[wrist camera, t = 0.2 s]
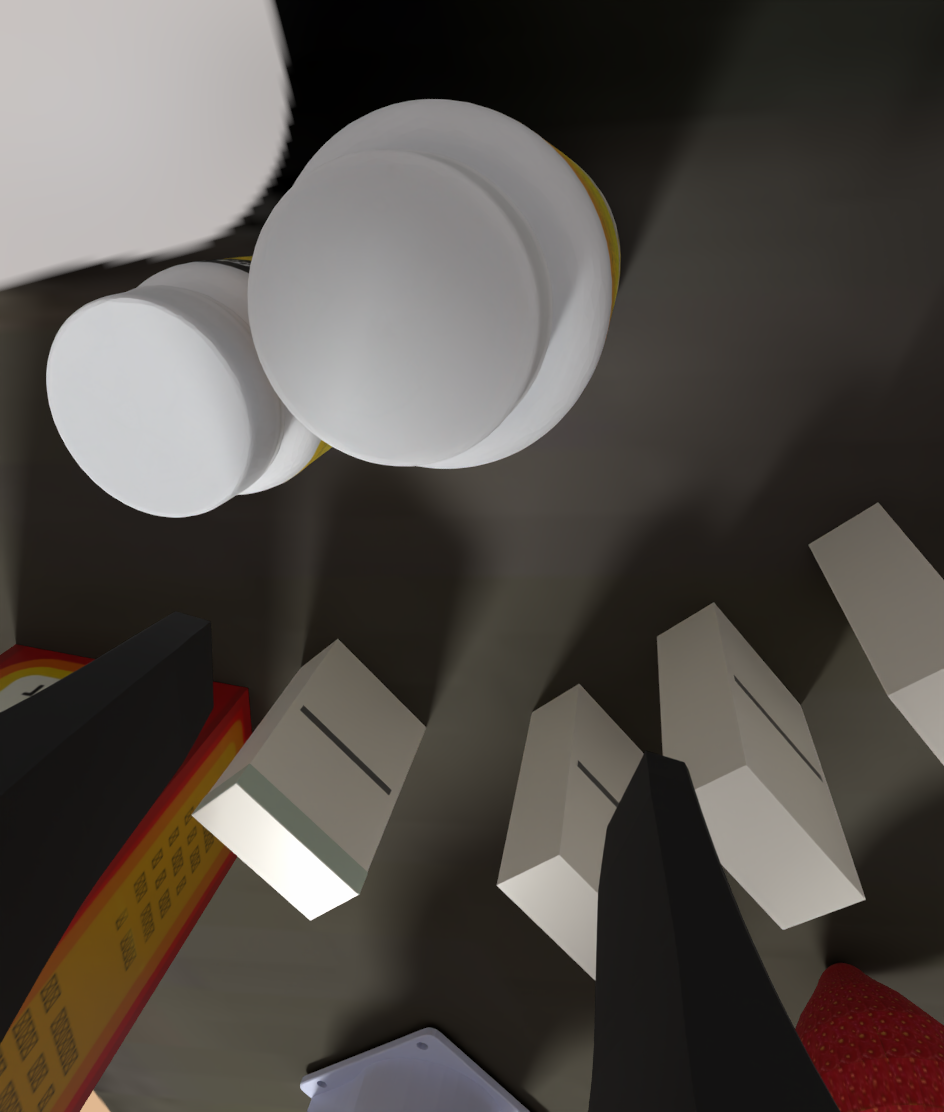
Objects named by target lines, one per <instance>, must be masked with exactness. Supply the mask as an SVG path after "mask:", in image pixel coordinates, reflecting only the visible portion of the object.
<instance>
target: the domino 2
mask: <svg viewBox="0 0 944 1112" xmlns="http://www.w3.org/2000/svg"><path fill="white" fill-rule="evenodd" d="M657 650H658V670H659V690H660V710H661V730H662V750H663V756H666V757H669V758H672V759H676V760H679V761H682V762H685V764H686V766H687V768H688V770H689V773H690V776H691V779H692V782H693V786H694V789H695V792H696V795H697V798H698V801H699V804H700V807H701V810H702V813H703V816H704V819H705V822H706V825H707V827H708V830H709V833H710V836H711V838H712V841H713V844H714V847H715V850H716V852H717V855H718V858H719V860H720V863H721V864H722V865H723V866H724V868H725V869H726V870H727V871H728V872H729V873H730V874H731V875H732V876H733V877H734V878H735V879H736V880H737V881H738V883H739V884H740V885H741V886H742V887H743V888H744V889H745V890H746V891H747V892H748V893H749V894H750V895H751V896H752V898H753V899H754V900H755V901H756V902H757V903H758V904H759V905H760V906H761V907H762V908H763V909H764V910H765V911H766V912H767V914H768V915H769V916H770V917H771V918H772V919H773V920H774V921H775V922H776V923H777V924H778V925H779V926H780V927H781V929H782V930H784V929H787V928H790V927H792V926H795V925H798V924H801V923H803V922H806V921H809V920H812V919H814V918H817V917H820V916H823V915H825V914H828V913H831V912H833V911H836V910H839V909H842V908H844V907H847V906H850V905H853V904H855V903H858V902H861V901H864V900H866V899H865V896H864V893H863V890H862V887H861V884H860V881H859V878H858V875H857V872H856V869H855V866H854V863H853V860H852V857H851V854H850V851H849V848H848V845H847V842H846V839H845V836H844V833H843V830H842V827H841V824H840V821H839V818H838V815H837V812H836V809H835V806H834V803H833V800H832V797H831V794H830V791H829V788H828V785H827V782H826V779H825V776H824V773H823V770H822V767H821V764H820V761H819V758H818V755H817V752H816V749H815V746H814V743H813V740H812V737H811V734H810V731H809V728H808V725H807V722H806V719H805V716H804V713H803V710H802V707H801V705H800V704H799V703H798V701H797V700H796V699H795V698H794V697H793V695H792V694H791V693H790V692H789V691H788V690H787V688H786V687H785V686H784V685H783V684H782V682H781V681H780V680H779V679H778V678H777V676H776V675H775V674H774V673H773V672H772V671H771V669H770V668H769V667H768V666H767V665H766V663H765V662H764V661H763V660H762V659H761V658H760V656H759V655H758V654H757V653H756V652H755V650H754V649H753V648H752V647H751V646H750V645H749V643H748V642H747V641H746V640H745V639H744V637H743V636H742V635H741V634H740V633H739V631H738V630H737V629H736V628H735V627H734V626H733V624H732V623H731V622H730V621H729V620H728V618H727V617H726V616H725V615H724V614H723V613H722V611H721V610H720V609H719V608H718V607H717V605H716V604H715V603H714V602H713V603H712V604H710V605H708V606H707V607H705V608H703V609H702V610H700V611H698V612H697V613H695V614H693V615H692V616H690V617H688V618H687V619H685V620H683V621H682V622H680V623H679V624H677V625H675V626H674V627H672V628H670V629H669V630H667V631H665V632H664V633H662V634H660V635H659V636H657Z"/></svg>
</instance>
